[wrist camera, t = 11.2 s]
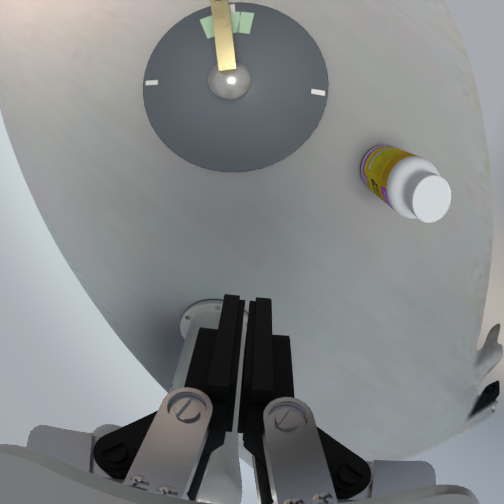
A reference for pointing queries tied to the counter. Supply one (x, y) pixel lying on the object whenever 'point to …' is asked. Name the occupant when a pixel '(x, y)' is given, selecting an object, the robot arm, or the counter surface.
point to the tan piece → (227, 57)
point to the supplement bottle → (406, 183)
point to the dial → (246, 108)
